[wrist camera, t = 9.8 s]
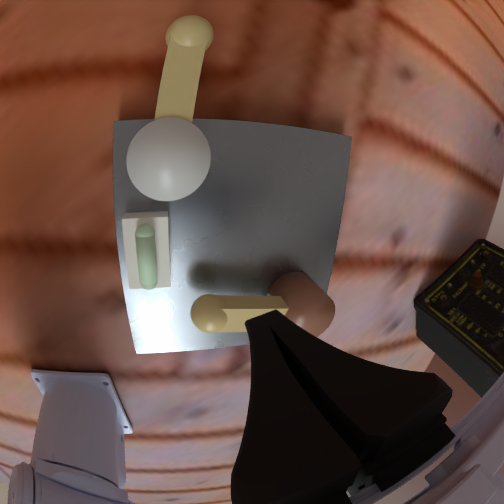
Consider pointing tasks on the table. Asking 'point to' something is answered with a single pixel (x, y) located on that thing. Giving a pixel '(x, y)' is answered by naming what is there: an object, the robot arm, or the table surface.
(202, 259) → the levelling plate
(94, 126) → the table surface
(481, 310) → the voltmeter
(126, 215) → the bubble vial
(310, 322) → the beige knobbed bar
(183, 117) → the footscrew grey
